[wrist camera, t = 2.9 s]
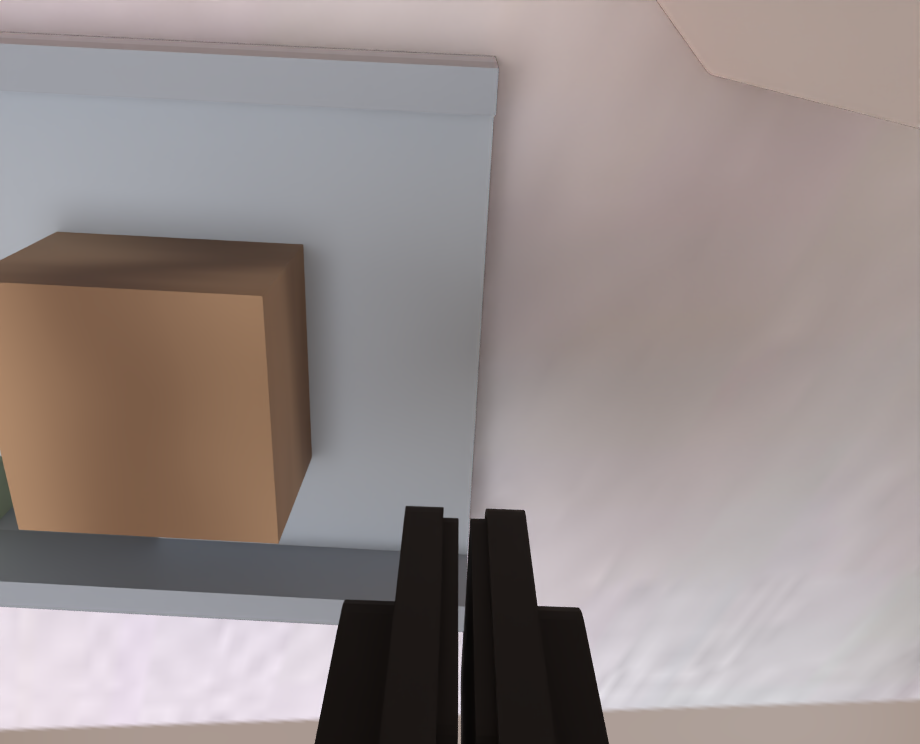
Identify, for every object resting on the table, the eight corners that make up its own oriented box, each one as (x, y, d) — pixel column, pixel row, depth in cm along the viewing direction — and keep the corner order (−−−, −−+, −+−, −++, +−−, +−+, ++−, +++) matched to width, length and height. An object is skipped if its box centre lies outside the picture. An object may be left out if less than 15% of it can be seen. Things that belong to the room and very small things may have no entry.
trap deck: (495, 56, 18) (498, 68, 14) (467, 523, 23) (464, 631, 19) (-476, 8, 18) (-759, 5, 14) (-278, 483, 23) (-438, 582, 19)
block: (303, 244, 17) (262, 296, 14) (312, 457, 20) (278, 543, 16) (56, 231, 17) (-40, 279, 14) (94, 446, 20) (19, 529, 16)
